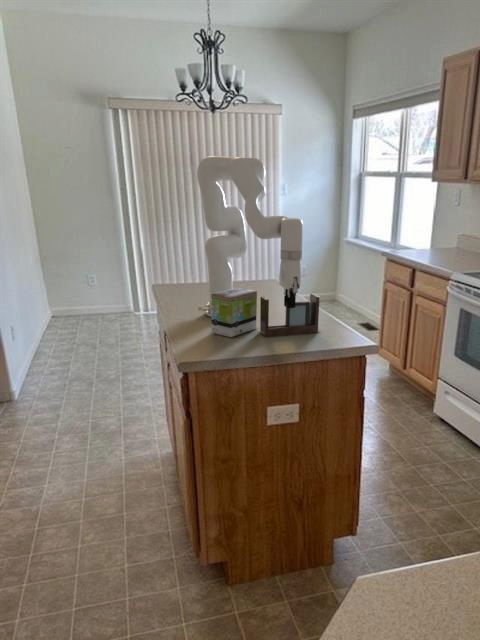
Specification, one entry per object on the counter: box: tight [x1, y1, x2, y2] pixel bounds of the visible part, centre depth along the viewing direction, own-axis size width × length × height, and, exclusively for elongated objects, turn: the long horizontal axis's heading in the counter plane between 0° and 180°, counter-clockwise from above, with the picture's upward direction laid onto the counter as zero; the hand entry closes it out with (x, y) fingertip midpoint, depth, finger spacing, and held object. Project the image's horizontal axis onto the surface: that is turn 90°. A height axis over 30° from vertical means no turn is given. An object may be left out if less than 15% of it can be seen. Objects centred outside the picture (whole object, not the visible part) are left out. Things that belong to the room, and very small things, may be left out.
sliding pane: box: [284, 291, 310, 327], centre depth 194 cm, size 9×2×14 cm, turn 110°
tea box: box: [211, 287, 258, 338], centre depth 195 cm, size 15×10×15 cm, turn 148°
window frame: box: [259, 292, 320, 338], centre depth 195 cm, size 21×6×14 cm, turn 110°
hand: (289, 306), depth 192 cm, fingers closed on sliding pane
